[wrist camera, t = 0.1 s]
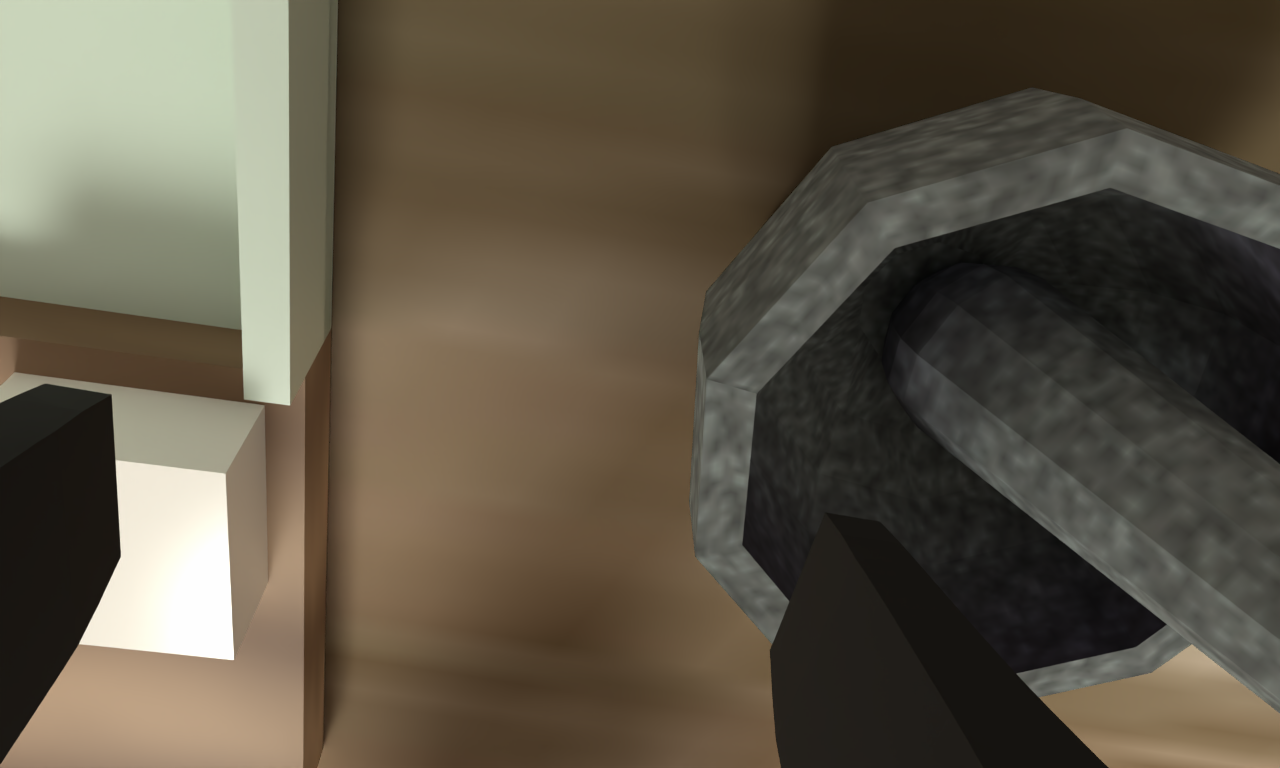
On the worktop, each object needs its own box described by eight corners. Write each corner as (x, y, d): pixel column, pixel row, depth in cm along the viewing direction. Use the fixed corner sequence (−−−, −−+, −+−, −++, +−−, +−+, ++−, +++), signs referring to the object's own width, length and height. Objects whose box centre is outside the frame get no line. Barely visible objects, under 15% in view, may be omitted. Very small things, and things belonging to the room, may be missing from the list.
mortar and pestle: (601, 395, 21) (590, 964, 11) (773, -53, 17) (1035, 187, 6) (1054, 523, 23) (1407, 1101, 13) (1314, 156, 19) (2174, 592, 8)
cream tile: (267, 582, 21) (233, 660, 19) (45, 557, 20) (-12, 634, 18) (264, 405, 19) (225, 473, 17) (14, 372, 18) (-55, 439, 16)
